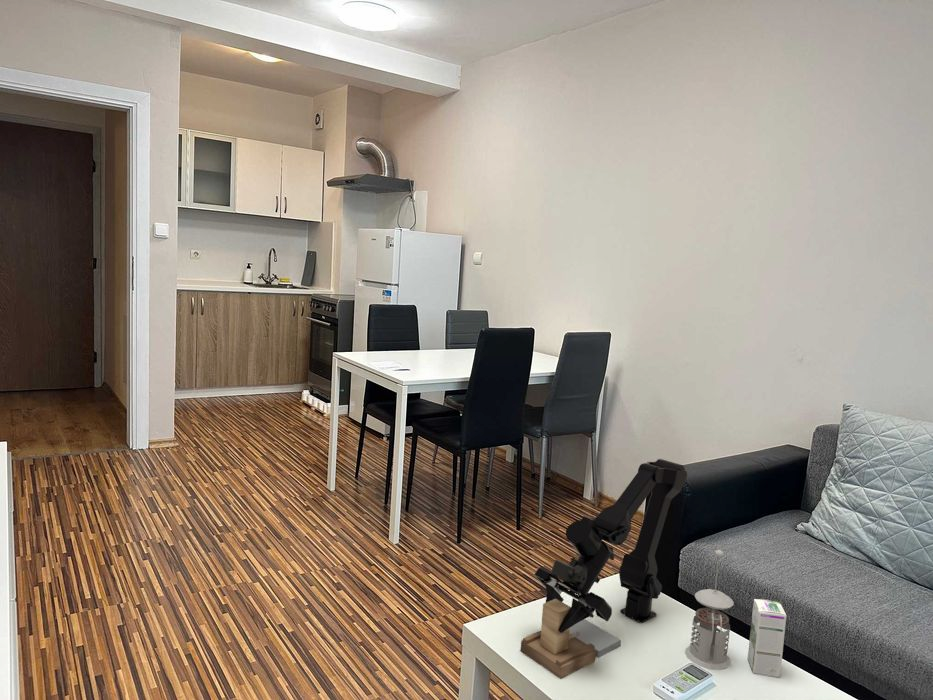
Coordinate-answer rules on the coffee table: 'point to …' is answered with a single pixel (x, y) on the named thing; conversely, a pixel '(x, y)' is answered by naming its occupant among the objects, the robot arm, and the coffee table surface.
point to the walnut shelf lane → (559, 655)
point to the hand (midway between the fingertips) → (551, 626)
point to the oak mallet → (555, 627)
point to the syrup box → (766, 637)
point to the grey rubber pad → (595, 637)
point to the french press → (711, 629)
